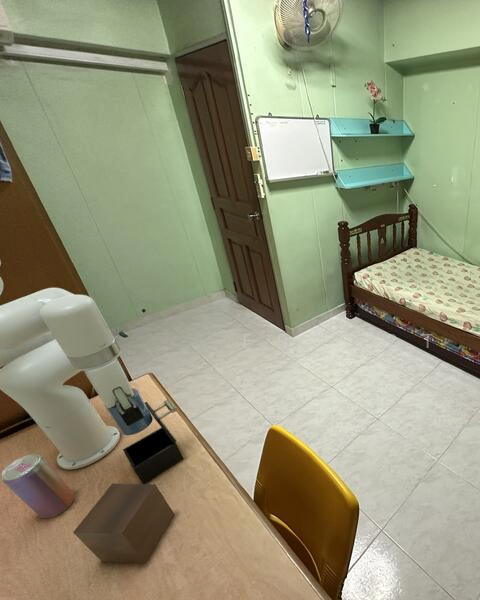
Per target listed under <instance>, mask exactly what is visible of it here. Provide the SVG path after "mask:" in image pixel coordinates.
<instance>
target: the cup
mask: <svg viewBox="0 0 480 600" xmlns="http://www.w3.org/2000/svg"><path fill="white" fill-rule="evenodd" d="M131 388H132V390H133V393H134V396H133V397H131V398H132V400H133V401H134V403H135V405H136V404H137V405H138V407H139V409H140V411H141V413H142V414H143V416H144V418H143V419H141V420H139V421H137V422H135V423H133V424H131V425H130V426H127V425H126V424H125V422H124V420H123V419H122V417H121V415H120V414H119V413H120V411H119V409H118V408H117V406H116V405H115V406H113V407H111V408H107V407H106V406H105V404H104V403H103V404H104V407H105V409H106V410H107V412H108V414H109V415H110V417H111V418H112V420H113V421H114V423H115V425H116V426H117V429H118V430H119V432H120V433H121V434H122V435H124V436H133V435H136V434H139V433H141V432H143V431H144V430H146V429H147V428H148V427H149V426H151V424H152V422H153V420H154V417H153V416H152V414H151V413H150V411H149V410H148V408H147V406H146V405H145V400H144V399H143V397H142V395H141V394H140V392H139V390H138V389H137V388H134V387H131ZM125 396H127V394H125ZM115 400H116V401H117V400H118V398H117V399H115ZM128 401H129V399H128ZM129 403H131V402H130V401H129ZM119 405H120V406H121V408H122V407H123V406H122V405H121V403H120V404H119Z"/></svg>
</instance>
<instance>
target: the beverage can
mask: <svg viewBox="0 0 480 600" xmlns="http://www.w3.org/2000/svg"><path fill="white" fill-rule="evenodd" d="M0 478H1V480H2V482H3V483H4V484H5V485H6V487H8V488H9V489H10V490H11V491H12V492H13V493H14V494H15V495H16V496H17V497H18V498H19V499H20V500H21V501H23V503H24V504H25V505H27V506H28V507H29V509H31V510H32V511H33V512H34V513H35V514H36V515H37V516H38V517H39V518H41V519H49V518H54V517H56V516H58V515H60V514H62V513H63V512H64V511H66V510H67V509H68V508H69V507H70V506H71V505H72V503H74V500H75V492H74V491H73V490H72V489H71V487H70V486H69V485H68V484H67V483H66V482H65V480H64V479H63V478H62V477H61V476H60V475H59V474H58V472H57V471H56V470H55V469H54V468H53V467H52V466H51V465H50V463H48V461H47V460H46V459H45V458H44V457H43V456H41V455H39V454H37V453H31V454H27V455H24V456H21V457H19V458H18V459H16V460H13V462H11V463H10V464H8V465H7V466H5V468H3V470H2V472H1V474H0Z"/></svg>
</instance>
